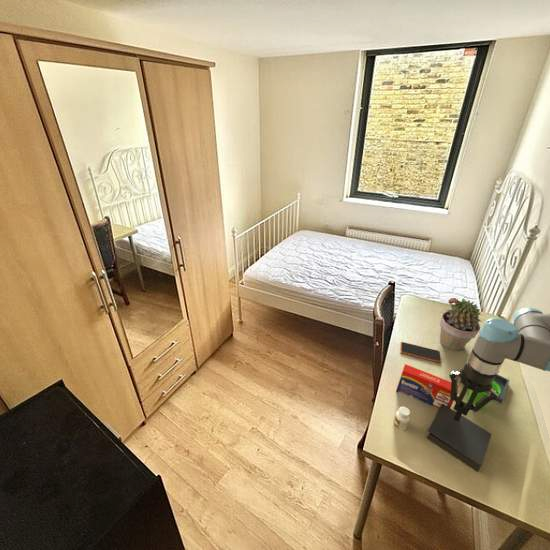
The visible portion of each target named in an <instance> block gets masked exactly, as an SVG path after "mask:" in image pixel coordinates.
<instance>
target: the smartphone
mask: <svg viewBox="0 0 550 550" xmlns="http://www.w3.org/2000/svg"><path fill="white" fill-rule="evenodd" d="M400 354H405V355H409V356H412V357H416V358H420V359H424V360H428V361H432V362H436V363H442V356H441V351H440V350H438V349H434V348H429V347H424V346H421V345H416V344H413V343H410V342H409V343H408V342H404V341H401V342H400Z"/></svg>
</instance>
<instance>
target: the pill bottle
mask: <svg viewBox="0 0 550 550" xmlns="http://www.w3.org/2000/svg"><path fill="white" fill-rule="evenodd" d="M410 415H411V410H410V409H409V408H407V407H406V406H400V407H399V408H398V410H397V411H396V413H395V414H394V417H393V425H394V426H395V428H397V429H398V430H402V431H404V430H406V429H407V428H408V425H409V422H410V420H411V419H410V418H411V416H410Z"/></svg>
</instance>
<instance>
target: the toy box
mask: <svg viewBox="0 0 550 550" xmlns="http://www.w3.org/2000/svg"><path fill="white" fill-rule="evenodd" d="M395 392H396V393H399V392H400V393H402V394H404V395H406V396H409V397H411V398H412V399H413V398H414V399H415V400H418V401H420V402H422V403H425V404H427V405H429V406H432V407H434V408H436V409H438V410H439V408H440V406H441V404H442V403H443V404H444V405H446V406H447V407H449V408H451V407H452V406H453V403H454V402H455V401H454V400H451V380H447V379H444V378H442V377H439V376H437V375H434V374H432V373H430V372H427V371H424V370H422V369H419V368H416V367H413V366H411V365H409V364H406V363H404V366H403V368H402V372H401V375H400V377H399V381H398V384H397V386H396V390H395ZM458 393H459V384H458V385H457V394H458ZM451 409H452V408H451Z"/></svg>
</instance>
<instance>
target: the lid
mask: <svg viewBox="0 0 550 550" xmlns="http://www.w3.org/2000/svg"><path fill="white" fill-rule="evenodd" d="M456 412H457V411H456V410H454V409H452V408H449V407H447V406H446V405H444V404H443V403H442V404H441V406H440V408H439V409H438V410H437V412H436V414H435V416H434V418H433V420H432V422H431V423H430V426H429V427H428V430H427V432H429V433H432V434H433V435H434V436H436V437H437V438H439V439H440V440H442V441H443V442H445V443H446V444H448V445H449V446H450V447H452V448H453V449H455V450H456V451H458V452H459V453H461V454H462V455H464V456H465V457H466V458H468V459H469V460H471V461H472V462H474V463H475V464H477V465H478V466H480V468H481V467H482V466H483V462H484V459H485V456H486V452H487V449H488V447H489V443H490V440H491V437H492V433H491V432H490V431H488V430H487V429H485V428H483V427H481V425H478V424H477V423H475V422H473V421H472V420H470V419H468V418H467V417H465V415H463V414H462V415H461V417H460V419H459V421H458V422H457V421H456V420H454V419H453V418H454V416H455V414H456Z"/></svg>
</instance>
